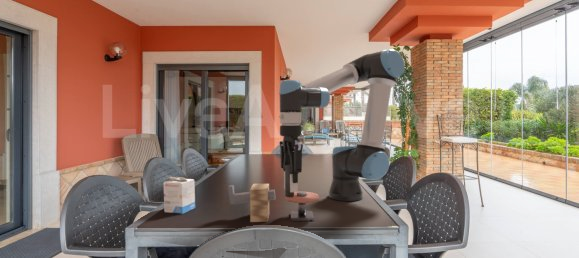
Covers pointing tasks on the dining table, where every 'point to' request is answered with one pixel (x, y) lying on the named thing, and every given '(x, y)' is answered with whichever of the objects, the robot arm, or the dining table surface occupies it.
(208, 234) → the dining table surface
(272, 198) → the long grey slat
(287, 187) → the handwheel
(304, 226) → the dining table surface
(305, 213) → the wheel post
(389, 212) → the dining table surface
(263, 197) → the eye block
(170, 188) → the ink box
